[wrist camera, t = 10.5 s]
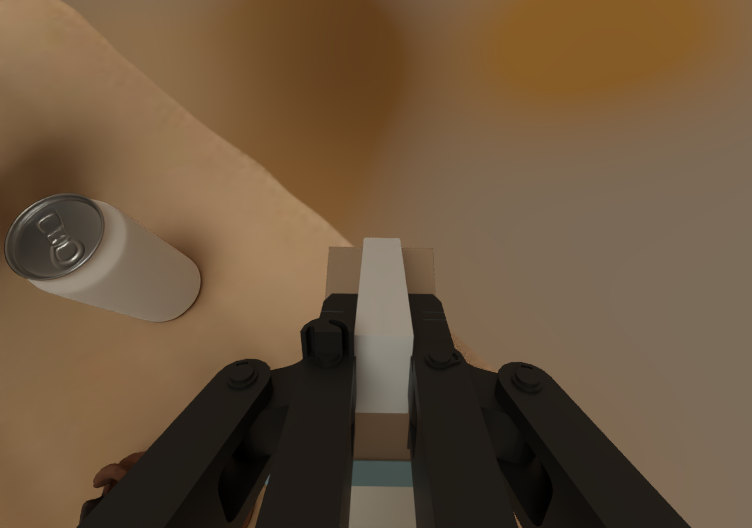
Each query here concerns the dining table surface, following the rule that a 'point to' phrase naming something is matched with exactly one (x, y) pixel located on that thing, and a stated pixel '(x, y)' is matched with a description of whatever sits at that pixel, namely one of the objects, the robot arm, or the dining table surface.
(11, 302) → the dining table surface
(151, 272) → the can
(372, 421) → the flap
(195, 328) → the dining table surface
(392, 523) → the carton
